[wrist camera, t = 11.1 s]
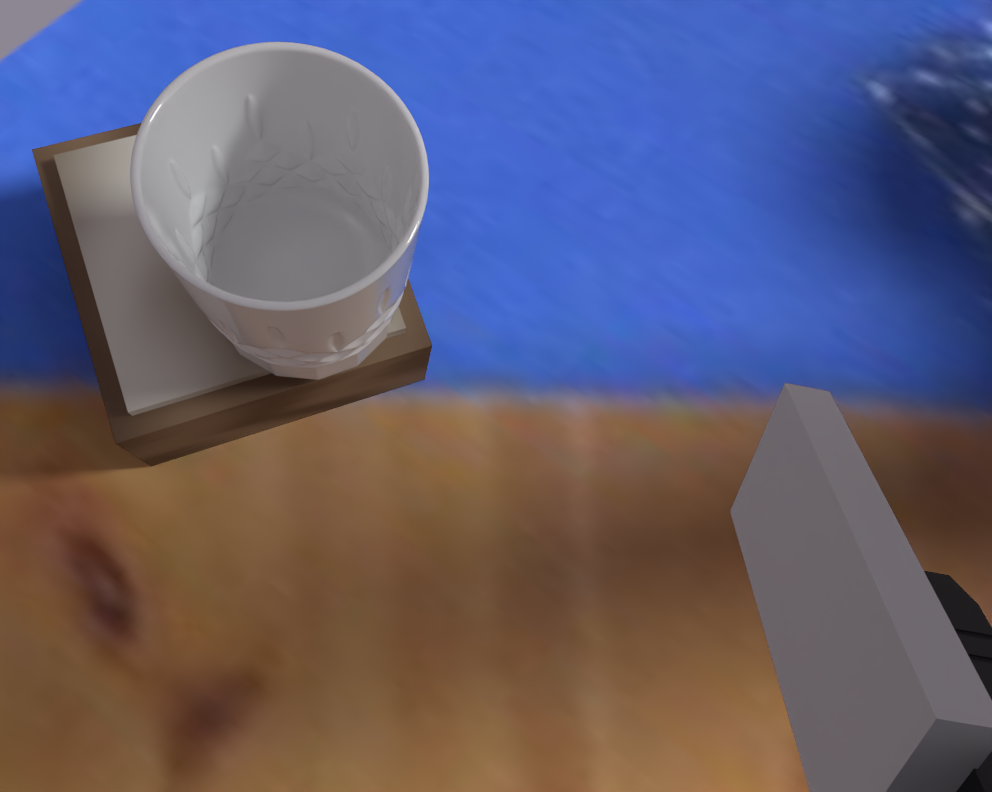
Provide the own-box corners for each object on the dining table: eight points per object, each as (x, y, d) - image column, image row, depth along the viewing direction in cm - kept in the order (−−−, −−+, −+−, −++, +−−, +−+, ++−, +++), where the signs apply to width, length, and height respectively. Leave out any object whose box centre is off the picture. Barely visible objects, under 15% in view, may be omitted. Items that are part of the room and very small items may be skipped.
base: (340, 141, 42) (335, 67, 36) (424, 379, 40) (432, 341, 34) (76, 209, 40) (26, 141, 34) (151, 466, 38) (111, 440, 32)
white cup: (158, 262, 34) (72, 123, 24) (340, 162, 35) (328, -5, 26) (273, 437, 33) (231, 366, 23) (453, 325, 34) (484, 215, 25)
